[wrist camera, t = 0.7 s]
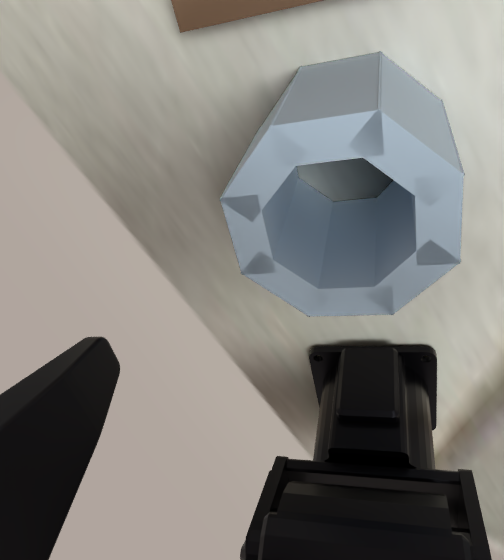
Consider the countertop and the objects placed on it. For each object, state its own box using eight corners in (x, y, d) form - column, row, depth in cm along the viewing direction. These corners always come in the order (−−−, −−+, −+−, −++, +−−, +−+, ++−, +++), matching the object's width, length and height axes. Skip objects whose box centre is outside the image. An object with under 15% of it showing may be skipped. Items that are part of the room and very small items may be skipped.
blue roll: (441, 218, 20) (458, 313, 15) (281, 230, 22) (253, 317, 17) (443, 39, 16) (468, 95, 11) (248, 75, 18) (200, 135, 13)
